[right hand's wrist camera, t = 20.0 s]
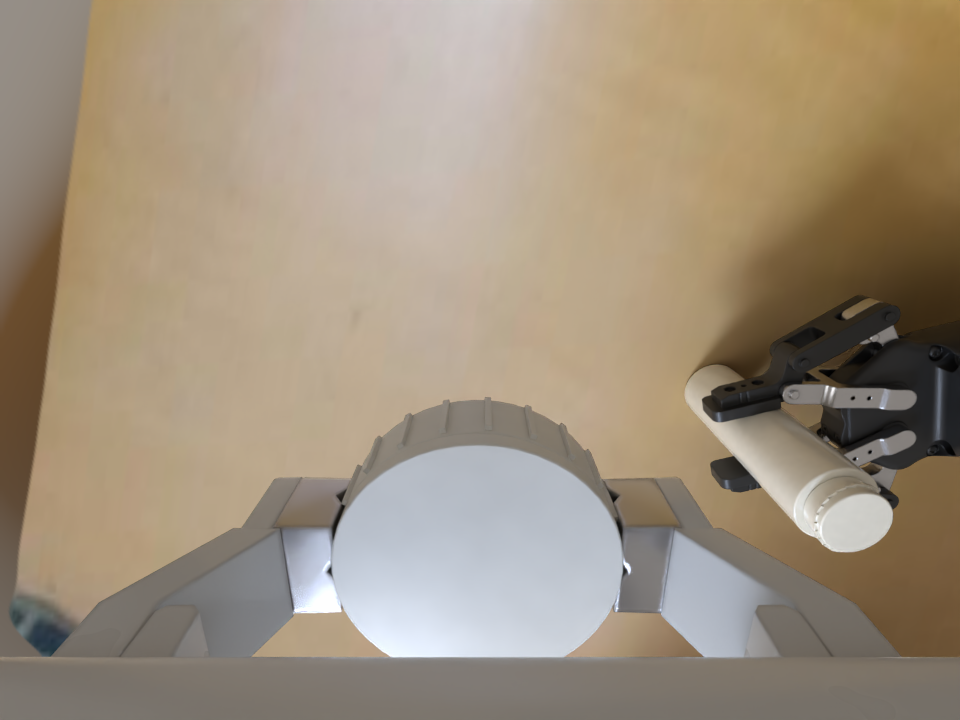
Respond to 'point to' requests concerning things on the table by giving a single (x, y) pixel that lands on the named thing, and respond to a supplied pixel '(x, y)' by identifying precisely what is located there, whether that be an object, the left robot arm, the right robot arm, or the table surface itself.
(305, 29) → the table surface
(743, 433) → the bottle
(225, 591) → the right robot arm
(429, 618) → the lid
